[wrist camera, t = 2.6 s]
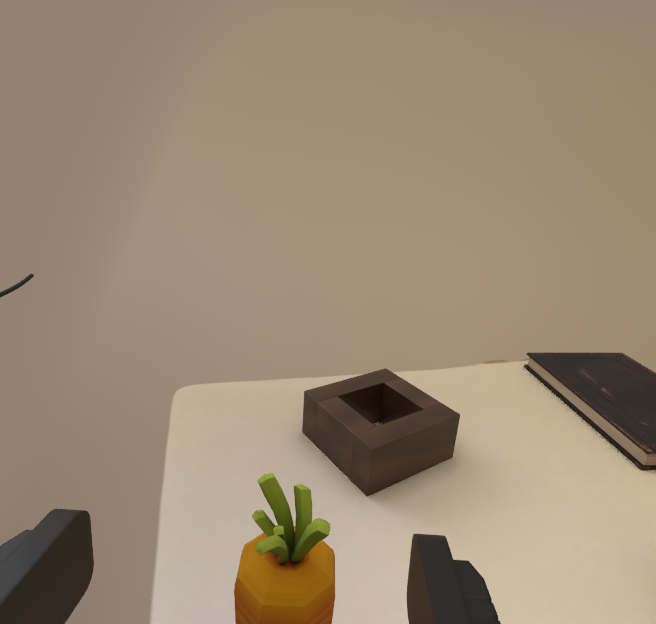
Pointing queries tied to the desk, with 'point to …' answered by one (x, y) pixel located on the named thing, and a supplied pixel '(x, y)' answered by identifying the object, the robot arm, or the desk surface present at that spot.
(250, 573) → the carrot
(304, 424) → the holder
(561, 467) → the desk surface
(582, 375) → the hardcover book
